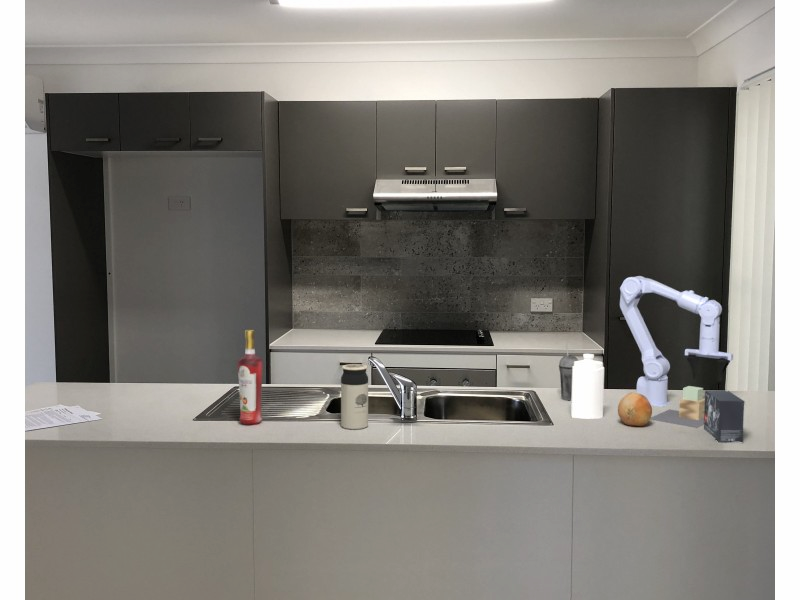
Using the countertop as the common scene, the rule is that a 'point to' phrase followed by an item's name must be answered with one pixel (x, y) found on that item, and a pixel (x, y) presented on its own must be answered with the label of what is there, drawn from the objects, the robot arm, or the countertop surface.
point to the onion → (634, 409)
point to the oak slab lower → (691, 414)
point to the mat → (677, 419)
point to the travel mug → (354, 396)
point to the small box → (724, 416)
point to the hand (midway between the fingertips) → (707, 379)
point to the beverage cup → (566, 375)
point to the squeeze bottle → (587, 388)
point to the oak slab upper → (692, 404)
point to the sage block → (692, 393)
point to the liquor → (250, 383)
